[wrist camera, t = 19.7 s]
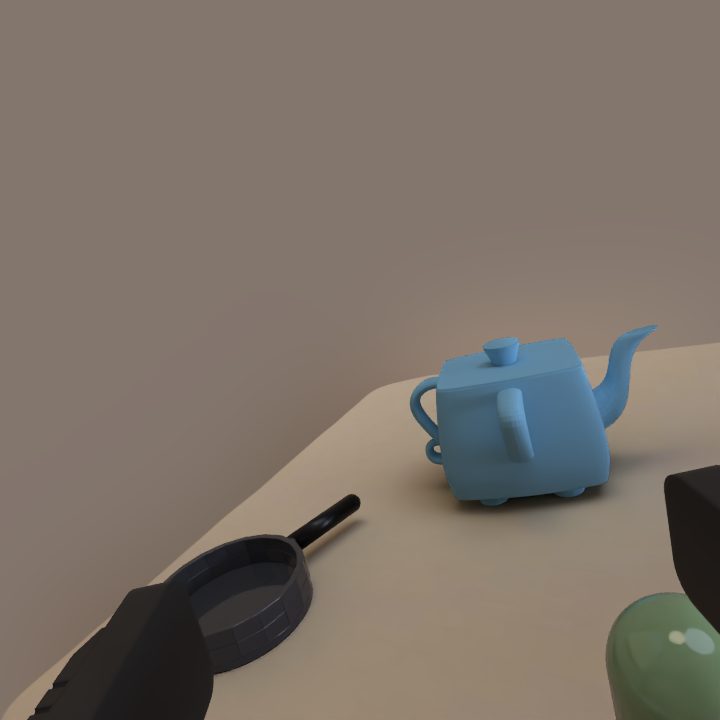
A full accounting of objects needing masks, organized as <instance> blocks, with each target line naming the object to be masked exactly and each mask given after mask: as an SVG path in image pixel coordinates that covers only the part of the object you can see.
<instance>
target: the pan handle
mask: <svg viewBox="0 0 720 720" xmlns="http://www.w3.org/2000/svg"><path fill="white" fill-rule="evenodd" d="M360 504H361V502H360V499H359V497H358V496H356V495H354V494H350V495H348V496H346V497H345V498H343V499H342V500H340V501H339V502H337V503H336V504H334V505H333V506H331V507H330V508H328V509H327V510H326V511H324V512H323V513H321V514H320V515H318V516H317V517H315V518H314V519H312V520H311V521H309V522H308V523H307V524H305V525H304V526H302V527H301V528H299V529H298V530H296V531H295V532H293V533H292V534H290V535H289V536H288V537H287V538H289V539H292V540H294V541H295V542H296V543H297V544H298V545H299V547H300V548H301V549H302V550H303V549H304V548H305V547H307V546H308V545H310V544H311V543H312V542H314V541H315V540H316V539H318V538H319V537H321V536H322V535H323V534H325V533H326V532H328V531H329V530H330V529H332V528H333V527H335V526H336V525H337V524H339V523H340V522H341V521H343V520H344V519H346V518H347V517H348V516H350V515H351V514H353V513H354V512H355V511H357V510H358V509H359V507H360Z"/></svg>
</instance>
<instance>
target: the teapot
mask: <svg viewBox="0 0 720 720" xmlns="http://www.w3.org/2000/svg"><path fill="white" fill-rule="evenodd" d="M657 327H658V325H652V326H647V327H643V328H639V329H635V330H632V331H630V332H627V333H625V334H623V335H622V336H620V337H619V338H618V339H617V340H616V342H615V343H614V345H613V347H612V349H611V353H610V357H609V364H608V370H607V374H606V376H605V378H604V380H603V381H602V383H601V384H600V385H599V386H597V387H596V388H595V389H593V390H592V389H591V386H590V383H589V381H588V378H587V375H586V373H585V370H584V368H583V365H582V363H581V360H580V358H579V357H578V355H577V353H576V351H575V350H574V348H573V347H572V345H571V344H570V343H569V341H568V340H566V339H565V338H560V339H552V340H545V341H540V342H534V343H528V344H522V345H519V339H517V338H512V337H508V338H500V339H496V340H493V341H490V342H488V343H486V344H485V345H483V349H484V351H485V352H481V353H476V354H471V355H466V356H462V357H458V358H453V359H450V360H446V361H445V363H444V365H443V367H442V370H441V372H440V375H439V377H432V378H428V379H426V380H424V381H423V382H421V383H420V384H419V385H418V386H417V387H416V388H415V390H414V391H413V393H412V395H411V398H410V408H411V411H412V413H413V415H414V417H415V419H416V420H417V422H418V423H419V424H420V425H421V426H422V427H423V429H424V430H425V431H426V432H427V433H428V434H429V435H430V436H431V437H432V438H433V439H432V440H430V441H429V442H428V443H427V445H426V455H427V457H428V459H429V460H430V461H431V462H433V463H435V464H440V465H443V466H444V471H445V475H446V478H447V481H448V484H449V486H450V488H451V490H452V492H453V494H454V495H455V497H456V499H458V500H480V502H481V503H482V504H484V505H489V506H494V505H499V504H502V503H504V502H506V501H507V500H508V498H513V497H524V496H533V495H541V494H548V493H554V494H556V495H557V496H560V497H574V496H577V495H580V494H581V493H583V492H584V490H585V488H586V487H591V486H596V485H600V484H603V483H606V482H607V481H608V478H609V470H610V452H609V447H608V442H607V437H606V433H605V429H606V428H607V427H609V426H610V425H611V424H613V423H614V422H615V421H616V420H617V419H618V417H619V416H620V415H621V414H622V412H623V410H624V408H625V406H626V402H627V398H628V391H629V380H630V367H631V362H632V357H633V354H634V352H635V349H636V347H637V346H638V345H639V343H640V342H641V341H642V340H643V339H644V338H645V337H646V336H647V335H649V334H650V333H651V332H652V331H654V330H655V329H656V328H657ZM435 388H436V405H437V422H438V426H437V425H436V424H435V423H434V422H433V421H432V420H431V419H430V418H429V417H428V415H427V414H426V413H425V411H424V410H423V408H422V406H421V403H420V398H421V396H422V395H423V394H424V393H425V392H426V391H428V390H431V389H435ZM437 445H440V449H441V453H438V452H436V451H435V450H434V446H437Z"/></svg>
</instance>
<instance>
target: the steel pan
mask: <svg viewBox="0 0 720 720" xmlns="http://www.w3.org/2000/svg"><path fill="white" fill-rule="evenodd" d="M174 580H178V581H180V582H182V583H183V585H184V586H185V588H186V589H187V592H188V594H189V597H190V600H191V603H192V605H193V608H194V611H195V614H196V616H197V619H198V622H199V625H200V627H201V630H202V633H203V636H204V638H205V641H206V644H207V647H208V649H209V652H210V655H211V659H212V664H213V674H216V673H220V672H224V671H228V670H231V669H234V668H237V667H239V666H242V665H244V664H246V663H248V662H251V661H253V660H254V659H256V658H258V657H260V656H262V655H263V654H265V653H266V652H268V651H269V650H271V649H272V648H274V647H275V646H276V645H278V644H279V643H280V642H282V641H283V640H284V639H285V638H286V637H287V636H288V635H289V634H290V633H291V632H292V631H293V630H294V629H295V628H296V627H297V626H298V624H299V623H300V622H301V620H302V619H303V617H304V616H305V614H306V612H307V611H308V608H309V606H310V604H311V600H312V594H313V588H312V583H311V579H310V573H309V570H308V567H307V564H306V561H305V557H304V554H303V551H302V549H301V548H300V547H299V545H298V544H297V543H296V542H295V541H294V540H292V539H289V538H287V537H284V536H281V535H267V534H265V535H257V536H250V537H244V538H241V539H237V540H234V541H231V542H227V543H224V544H222V545H220V546H217V547H215V548H213V549H211V550H209V551H206V552H204V553H203V554H201V555H199V556H197V557H196V558H194V559H193V560H191V561H189V562H188V563H186V564H185V565H183V566H182V567H181V568H179V569H178V570H177V571H176V572H175V573H174V574H172V575H171V576H170V577H169V578H168V579H167V580H165V581H164V583H165V582H169V581H174Z"/></svg>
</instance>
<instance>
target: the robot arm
mask: <svg viewBox="0 0 720 720" xmlns="http://www.w3.org/2000/svg"><path fill="white" fill-rule="evenodd" d="M664 493H665V501H666V509H667V516H668V524H669V531H670V539H671V546H672V554H673V561H674V566H675V570H676V573H677V576H678V578H679V581H680V583H681V585H682V587H683V589H684V591H685V593H686V595H687V596H688V598H689V600H690V601H691V602H692V604H693V605H694V606H695V607H696V609H697V610H698V611H699V612H700V613H701V614H702V615H703V616H704V618H705V619H706V620H707V621H708V622H709V623H710V624H711V625H712V627H713V628H714V629H715V630H716V631H717V632H718V633H719V635H720V465H714V466H710V467H705V468H700V469H696V470H691V471H687V472H682V473H677V474H673V475H669V476H667V477H666V479H665V483H664ZM213 681H214V674H213V664H212V659H211V655H210V652H209V649H208V647H207V644H206V641H205V638H204V636H203V633H202V630H201V627H200V625H199V622H198V619H197V616H196V614H195V611H194V608H193V605H192V603H191V600H190V597H189V594H188V592H187V589H186V588H185V586H184V585H183V583H182V582H180V581H178V580H174V581H169V582H165V583H160V584H155V585H151V586H146V587H142V588H137V589H133V590H132V591H130V592H129V593H128V594H127V596H126V597H125V599H124V600H123V602H122V603H121V604H120V606H119V607H118V609H117V610H116V612H115V613H114V615H113V616H112V618H111V619H110V621H109V622H108V624H107V625H106V627H104V628H102V629H100V630H99V631H98V632H97V633H96V634H95V635H94V636H93V637H92V638H91V639H90V640H89V641H87V642H86V643H85V644H84V645H83V646H82V647H81V648H80V649H79V650H78V651H77V652H75V653H74V654H73V656H72V657H71V658H70V660H69V661H68V663H67V664H66V666H65V667H64V668H63V670H62V671H61V673H60V674H59V675H58V677H57V678H56V680H55V681H54V683H53V688H52V689H50V690H48V691H47V692H46V694H45V695H44V697H43V698H42V700H41V701H40V702H39V704H38V705H37V707H36V708H35V714H34V715H32V716H30V717H29V718H28V719H27V720H204V718H205V715H206V712H207V709H208V706H209V703H210V700H211V697H212V692H213Z"/></svg>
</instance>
